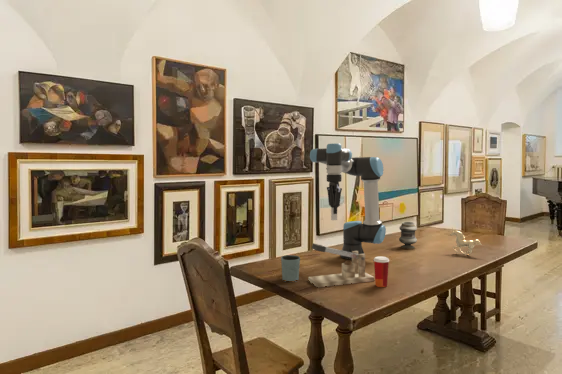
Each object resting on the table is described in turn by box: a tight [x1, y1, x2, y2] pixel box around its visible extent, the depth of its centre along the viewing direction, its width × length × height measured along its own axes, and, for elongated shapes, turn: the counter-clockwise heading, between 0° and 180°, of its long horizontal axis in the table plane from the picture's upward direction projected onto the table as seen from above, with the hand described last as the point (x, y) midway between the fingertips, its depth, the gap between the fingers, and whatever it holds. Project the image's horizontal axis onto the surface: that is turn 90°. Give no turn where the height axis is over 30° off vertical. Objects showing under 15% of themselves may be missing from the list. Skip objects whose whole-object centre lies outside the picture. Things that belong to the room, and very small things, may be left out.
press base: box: [307, 251, 375, 288], centre depth 208 cm, size 32×12×14 cm, turn 108°
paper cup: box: [373, 256, 390, 288], centre depth 199 cm, size 8×8×14 cm
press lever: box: [311, 243, 359, 259], centre depth 207 cm, size 27×6×3 cm, turn 108°
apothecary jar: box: [398, 221, 418, 250], centre depth 284 cm, size 12×12×18 cm
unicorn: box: [449, 227, 482, 256], centre depth 260 cm, size 20×4×17 cm, turn 45°
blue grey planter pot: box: [280, 254, 301, 282], centre depth 211 cm, size 10×10×12 cm
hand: (334, 219), depth 205 cm, fingers closed
